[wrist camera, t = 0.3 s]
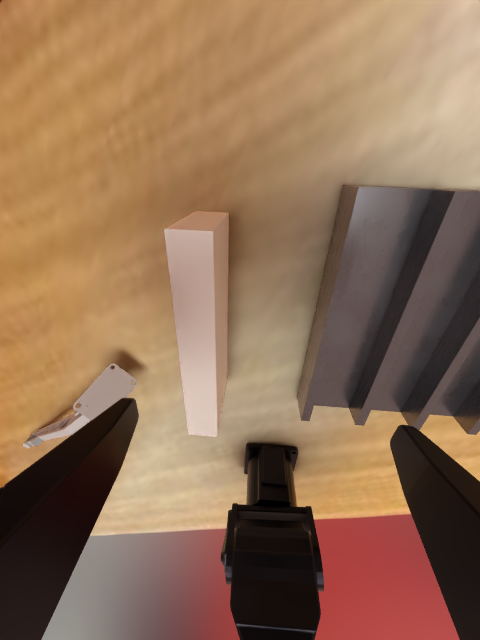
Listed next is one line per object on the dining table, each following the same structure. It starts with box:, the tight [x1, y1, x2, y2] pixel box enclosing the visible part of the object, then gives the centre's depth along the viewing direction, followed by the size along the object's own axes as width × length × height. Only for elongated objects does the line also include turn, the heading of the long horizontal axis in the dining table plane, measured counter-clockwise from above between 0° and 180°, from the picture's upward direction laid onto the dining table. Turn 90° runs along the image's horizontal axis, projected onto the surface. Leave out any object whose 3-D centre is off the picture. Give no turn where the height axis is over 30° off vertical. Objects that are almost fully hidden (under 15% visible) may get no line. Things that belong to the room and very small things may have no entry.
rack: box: [297, 185, 480, 435], centre depth 19 cm, size 22×16×3 cm
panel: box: [164, 211, 229, 437], centre depth 19 cm, size 16×2×7 cm, turn 178°
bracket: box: [22, 363, 137, 448], centre depth 28 cm, size 3×21×10 cm, turn 130°
